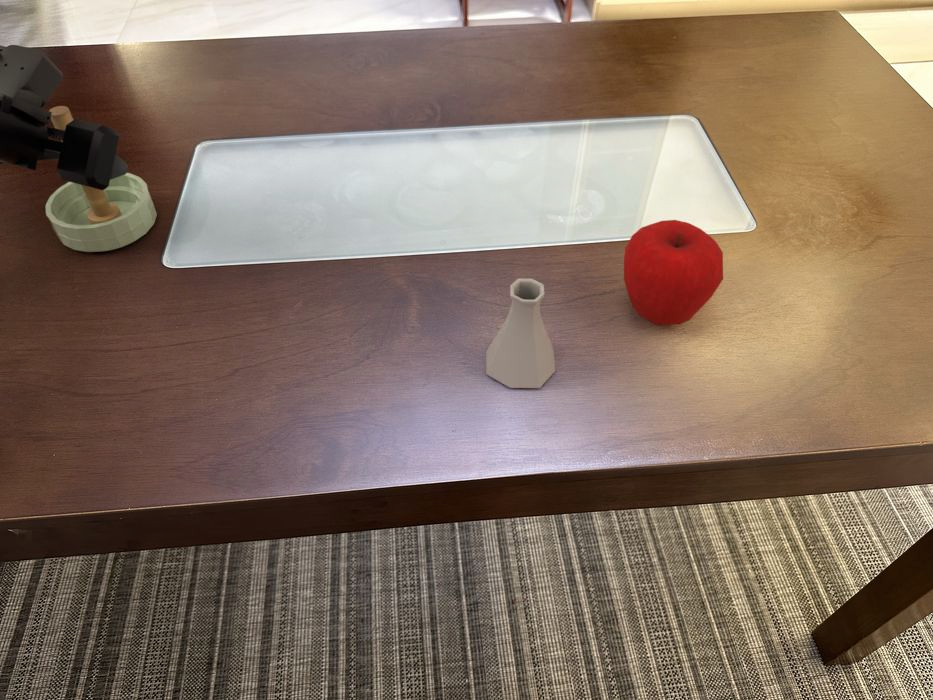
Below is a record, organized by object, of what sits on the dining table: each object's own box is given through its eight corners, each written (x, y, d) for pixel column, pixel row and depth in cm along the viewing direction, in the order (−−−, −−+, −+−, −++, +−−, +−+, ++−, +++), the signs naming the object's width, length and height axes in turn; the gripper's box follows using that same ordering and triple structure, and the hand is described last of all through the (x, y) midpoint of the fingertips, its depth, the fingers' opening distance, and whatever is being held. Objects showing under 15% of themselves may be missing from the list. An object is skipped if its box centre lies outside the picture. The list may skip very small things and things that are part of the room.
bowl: (47, 258, 83) (32, 230, 80) (74, 201, 90) (61, 173, 87) (148, 253, 83) (136, 225, 80) (165, 196, 91) (156, 169, 88)
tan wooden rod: (110, 234, 85) (60, 121, 74) (85, 227, 86) (32, 115, 75) (129, 216, 87) (84, 105, 76) (105, 210, 88) (56, 99, 77)
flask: (564, 347, 74) (575, 273, 66) (545, 399, 69) (556, 326, 62) (496, 330, 75) (500, 256, 68) (474, 380, 71) (476, 306, 63)
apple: (724, 325, 76) (755, 244, 68) (652, 357, 73) (675, 275, 65) (665, 271, 82) (687, 190, 74) (595, 297, 79) (611, 216, 71)
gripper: (67, 49, 64) (177, 106, 79) (-93, 17, 68) (41, 76, 83) (40, 172, 65) (155, 205, 80) (-116, 133, 69) (21, 171, 84)
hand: (92, 161), depth 82 cm, fingers open, 9 cm apart
